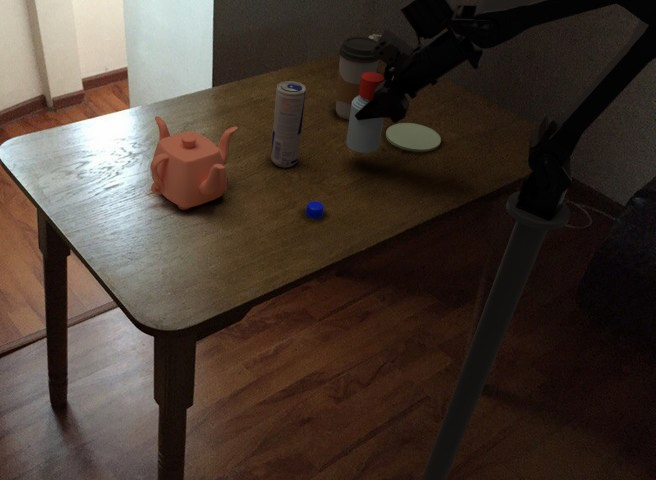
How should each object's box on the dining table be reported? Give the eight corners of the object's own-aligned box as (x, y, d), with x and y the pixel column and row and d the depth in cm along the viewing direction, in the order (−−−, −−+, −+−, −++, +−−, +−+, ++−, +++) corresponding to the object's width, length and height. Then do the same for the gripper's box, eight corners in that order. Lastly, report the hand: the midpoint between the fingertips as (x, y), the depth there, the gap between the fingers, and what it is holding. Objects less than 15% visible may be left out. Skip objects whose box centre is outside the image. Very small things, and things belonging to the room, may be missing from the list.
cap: (386, 96, 123) (389, 77, 121) (371, 102, 121) (374, 83, 118) (369, 88, 125) (371, 70, 123) (353, 94, 123) (356, 75, 121)
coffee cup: (372, 124, 145) (385, 53, 136) (332, 121, 145) (342, 50, 135) (368, 106, 152) (380, 36, 142) (329, 103, 151) (339, 34, 142)
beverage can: (300, 158, 133) (309, 83, 123) (293, 171, 129) (301, 94, 119) (275, 153, 134) (281, 77, 124) (266, 165, 130) (272, 89, 120)
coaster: (449, 138, 143) (450, 135, 142) (423, 158, 136) (424, 155, 136) (402, 120, 148) (403, 117, 147) (375, 138, 141) (375, 135, 140)
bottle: (385, 146, 129) (397, 81, 121) (363, 156, 126) (374, 90, 118) (361, 134, 132) (371, 69, 124) (339, 143, 129) (348, 78, 121)
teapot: (157, 168, 127) (155, 112, 120) (235, 177, 127) (238, 121, 119) (137, 212, 116) (133, 153, 109) (222, 223, 116) (224, 164, 108)
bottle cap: (313, 220, 118) (314, 212, 117) (301, 212, 120) (303, 203, 118) (326, 215, 119) (328, 207, 118) (315, 207, 121) (316, 198, 120)
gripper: (416, 1, 120) (344, 54, 129) (397, 38, 106) (318, 95, 116) (452, 54, 123) (380, 102, 133) (438, 97, 110) (359, 147, 119)
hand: (360, 110), depth 125 cm, fingers closed on bottle, 6 cm apart
